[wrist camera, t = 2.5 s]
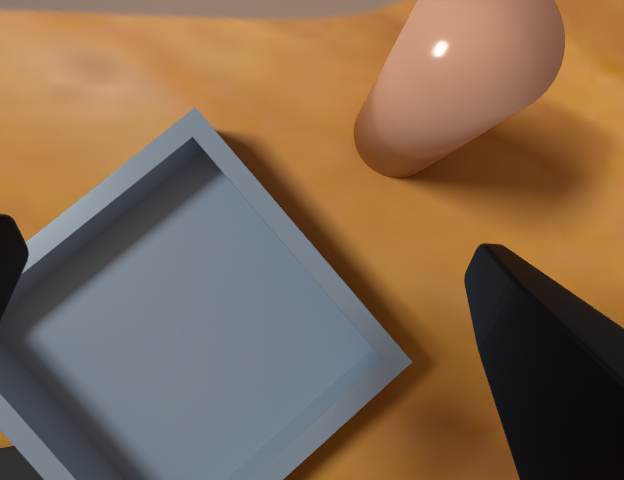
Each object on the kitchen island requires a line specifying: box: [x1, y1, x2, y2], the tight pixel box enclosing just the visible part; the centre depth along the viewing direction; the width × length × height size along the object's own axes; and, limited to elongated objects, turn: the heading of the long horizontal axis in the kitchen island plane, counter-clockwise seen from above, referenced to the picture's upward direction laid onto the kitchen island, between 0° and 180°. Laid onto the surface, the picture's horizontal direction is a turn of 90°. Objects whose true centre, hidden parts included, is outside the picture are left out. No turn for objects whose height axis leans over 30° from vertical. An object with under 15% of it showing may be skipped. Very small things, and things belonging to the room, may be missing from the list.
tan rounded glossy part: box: [354, 0, 565, 178], centre depth 17 cm, size 5×5×10 cm
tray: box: [0, 108, 412, 480], centre depth 19 cm, size 16×16×3 cm
